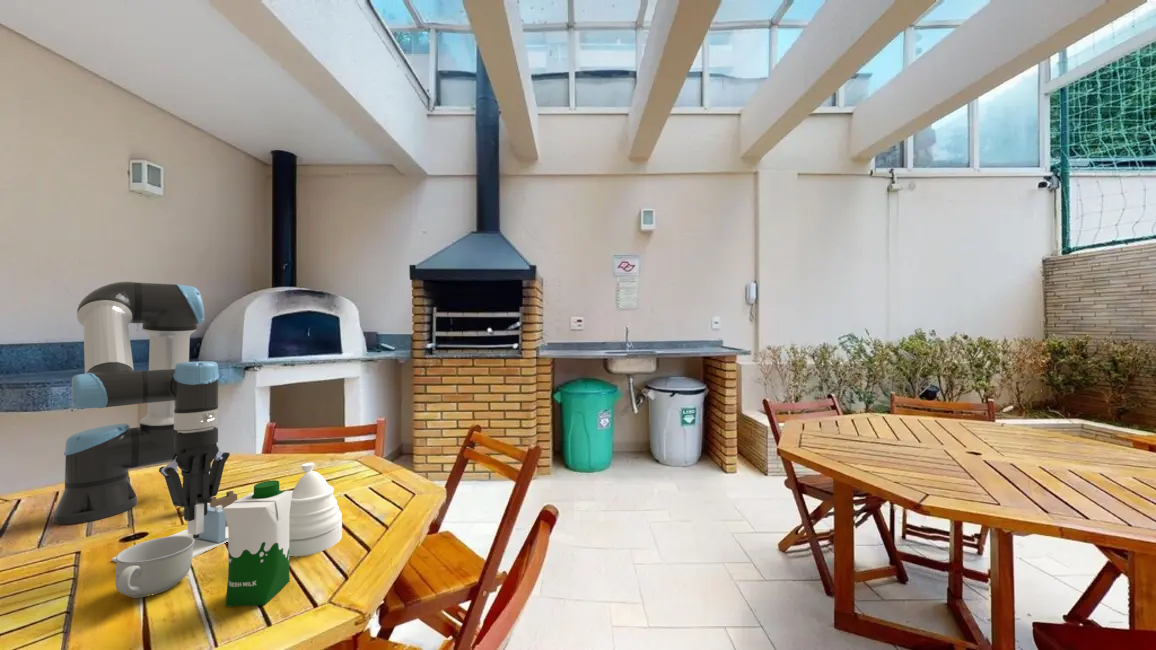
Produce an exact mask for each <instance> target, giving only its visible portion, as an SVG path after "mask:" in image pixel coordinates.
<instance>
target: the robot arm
mask: <svg viewBox="0 0 1156 650" xmlns="http://www.w3.org/2000/svg"><path fill="white" fill-rule="evenodd" d="M76 315H77V316H76V317H77V318H76V319H77V320H78V323H79V324H80V325H81V326H82V327H83V348H84V349H83V350H84V351H83V354H84V355H83V356H84V357H83V358H84V373H81V374H75V375H74V376H72V378H71V406H72V407H73V408H74V409H80V410H81V409H82V410H83V409H96V408H97V409H105V408H109V407H110V408H113V407H122V406H130V405H138V404H139V405H140V404H147V414H146V415H145V416H144V417H142V418H141V419H140V420H139V426H136V427H130V425H129V424H128V423H116V424H109V425H104V426H98V427H94V428H90V429H87V430H86V429H85V430H82V431H79V432H77V433H74V434H72V435H70V436H69V437H68V438H67V439H66V441H65V449H64V452H63V456H65V459H64V463H65V464H64V490H63V493H62V495H61V498H60V499H59V501H58V504H57V506H56V508H55V510H54V513H53V523H55V524H58V525H72V524H79V523H80V524H81V523H85V522H86V523H87V522H91V521H97V520H101V519H104V518H109V517H112V516H115V515H118V514H121V513H124V512H126V511H129V510H131V509H133V508H134V507H135V506H137V504H138V501H137V500H138V498H137V494H136V491H135V489H134V487H133V486H132V483H131V482H130V480H129V470H132V469H136V468H142V467H148V466H154V465H159V464H166V463H167V465H165V466H161V467H159V469H158V472H159V473H160V474H161V475H162V476H163V477H164V480H165V483H166V485H167V489H168V492H169V495H170V499H171V502H172V506H174V507H182V508H183V519H184V521H186V522H187V529H188V534H194V535H197V534H200V533H202V532H204V516H205V515H207V502H210V501H211V497H213V496H214V497H216V496H217V495H218V492H219V487H220V485H221V480H222V476H223V472H224V469H225V465H226V464H225V463H226V462H227V461H228V459H229V457H230V452H225V451H221V450H220V448H219V446H218V445H217V444H218V442H219V428H218V427H217V426H218V424H219V380H220V379H219V378H220V373H219V364H218V363H217V362H216V361H212V360H211V361H209V360H207V361H206V360H205V361H203V360H202V361H201V360H200V361H190V339H191V338H190V337H191V335H192V334H193V333H195V332H196V331H197V325H202V324H203V323H204V322H205V308H204V301H203V298H202V295H201V292H200V291H199V289H198V288H196V287H195V286H192V285H183V284H178V283H175V284H173V283H151V282H135V281H120V282H114V283H113V282H112V283H109V284H106V285H102V286H101V287H98V288H97V289H95V290H93V291H91V292H90V293H88V294H87V295H85V297H84V298H83V299H82V300H81V301H80V303H79V304H78V307H77V310H76ZM129 324H142V327H141V328H142V331H144V332H145V333H146V334H148V336H149V353H148V354H149V355H148V370H135V371H134V369H135V368H134V362H133V353H132V345H131V338H130V337H131V336H130V331H129ZM178 468H179V469H180V470H181V471H180V472H181V476H182V481H181V478H180V475H179V473H178V471H179V469H178ZM209 472H210V474H209ZM196 501H197V502H196ZM132 507H133V508H132ZM130 508H131V509H130Z"/></svg>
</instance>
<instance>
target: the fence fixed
mask: <svg viewBox="0 0 1156 650" xmlns="http://www.w3.org/2000/svg"><path fill="white" fill-rule="evenodd" d="M236 500H238V493H234V490H229V491H226V494H225V496H221V497H219V498H217V497H216V496H214V497H211V501H210V502H207V503H210V507H213V508H215V507H216V506H219V505H221V506H222V510H223V508H225V507H226V506H228V505H230V504H232V503H233V502H234V501H236ZM196 502H197V501H196ZM226 525H227V521H226V520H225V526H226ZM193 538H199V534H197V535H194V534H193Z"/></svg>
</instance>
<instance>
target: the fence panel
mask: <svg viewBox="0 0 1156 650" xmlns="http://www.w3.org/2000/svg"><path fill="white" fill-rule="evenodd" d="M225 520H226V518H225V514H224V511H223V510H222V506H221V505H219V506H216V507H215V508H213V507H210V503H207V515H205V516H204V532H202V533H200V534H199V538H201V539H205V540H209V541H213V542H217V543H219V542H222V541H224V540H225Z"/></svg>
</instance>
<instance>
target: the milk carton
mask: <svg viewBox="0 0 1156 650" xmlns="http://www.w3.org/2000/svg"><path fill="white" fill-rule="evenodd" d="M292 491H293V490H281V489H280V481H279V480H275V479H273V480H266V481H261V482H259V483H256V484H254V486H253V492H251V493H248V494H247V495H245V496H242V497H240V498H239V499H237V500H236V501H234V502H233V503H232V504H230V505H228V506H226V507H225V508H223V511H224V514H225V518H226V521H227V525H228V535H229V536H228V543H227V544H228V546H227V547H228V550H227V551H228V553H227V554H228V559H227V560H228V561H227V562H228V565H227V567H228V568H227V571H228V573H227V584H226V595H225V605H224V607H225V606H230V607H247V606H249V607H251V606H253V607H254V606H265V605H267V604H268V603H269V602H270V601H271V600H272V599H273V598H274V597H275V596H277V594H278V593H280V591H282V590H283V589H284V588H285V587H286V586H287V585H288V584H289V583H290V581H291V580H290V557H289V514H290V505H291V498H292ZM288 582H289V583H288ZM287 583H288V584H287ZM286 584H287V585H286ZM285 585H286V586H285ZM284 586H285V587H284ZM283 587H284V588H283ZM282 588H283V589H282ZM281 589H282V590H281Z"/></svg>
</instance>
